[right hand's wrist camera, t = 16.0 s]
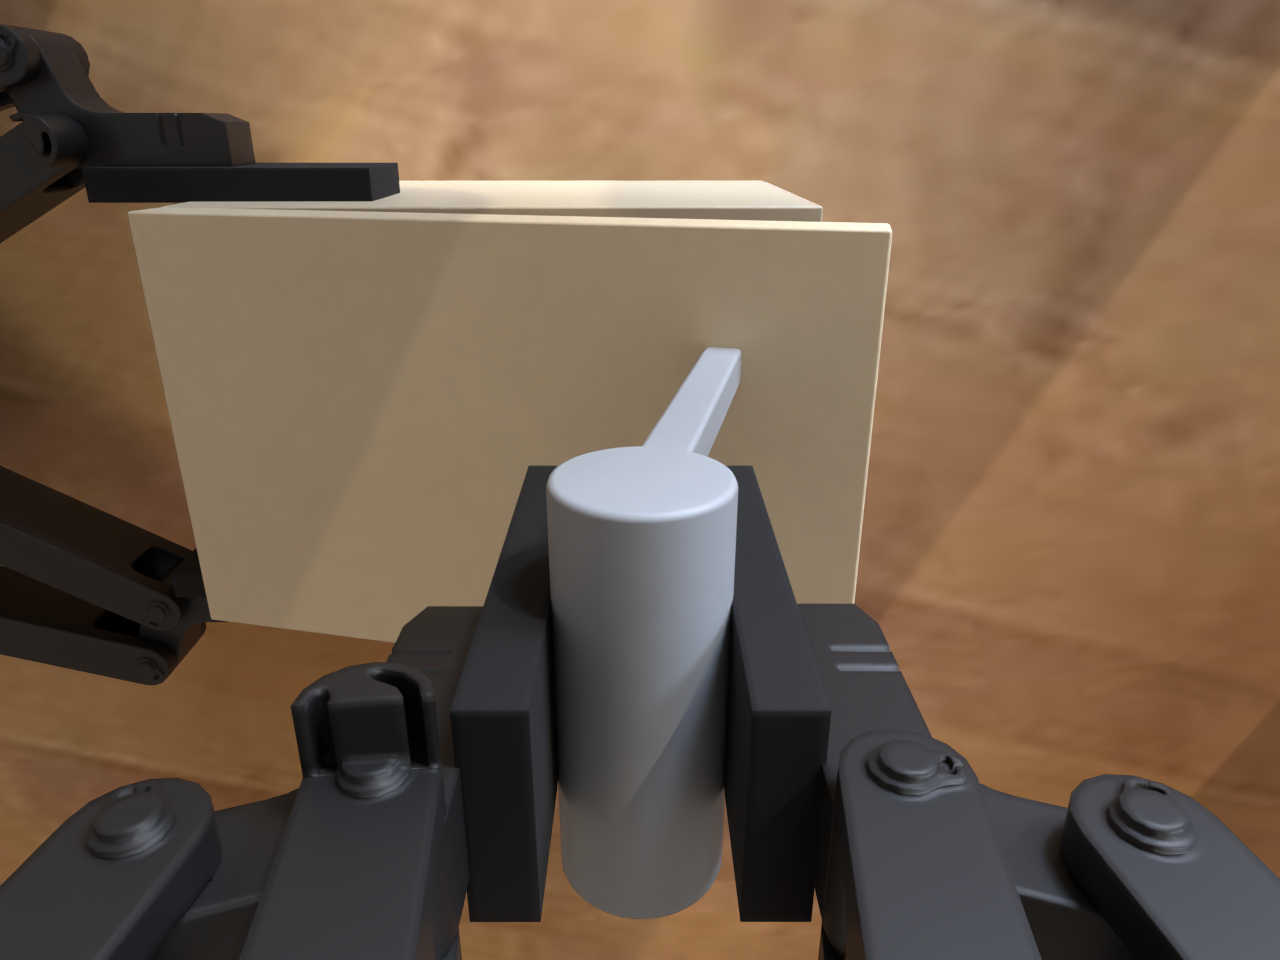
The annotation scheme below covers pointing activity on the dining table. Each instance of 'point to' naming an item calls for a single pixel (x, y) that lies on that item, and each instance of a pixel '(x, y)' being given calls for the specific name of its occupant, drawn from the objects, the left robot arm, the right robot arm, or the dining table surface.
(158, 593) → the left robot arm
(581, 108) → the dining table surface
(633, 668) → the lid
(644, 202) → the chest
